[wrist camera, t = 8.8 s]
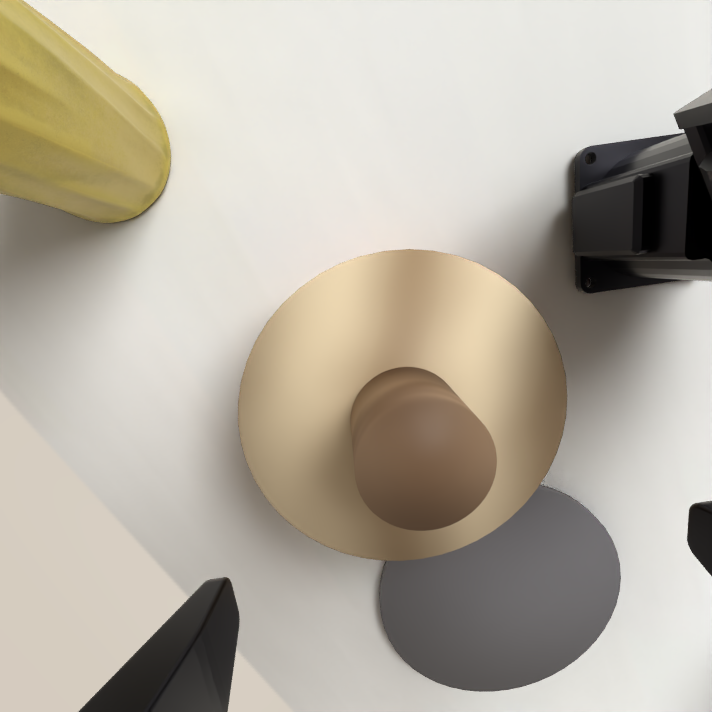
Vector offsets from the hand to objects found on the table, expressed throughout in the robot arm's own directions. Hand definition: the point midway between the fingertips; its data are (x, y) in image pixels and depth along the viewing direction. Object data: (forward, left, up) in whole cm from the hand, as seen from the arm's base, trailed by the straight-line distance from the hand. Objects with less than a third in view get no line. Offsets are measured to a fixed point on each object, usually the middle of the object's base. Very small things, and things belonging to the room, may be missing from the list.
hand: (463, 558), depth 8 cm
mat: (-5, +14, -13) cm, 20 cm away
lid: (0, 0, -8) cm, 8 cm away
